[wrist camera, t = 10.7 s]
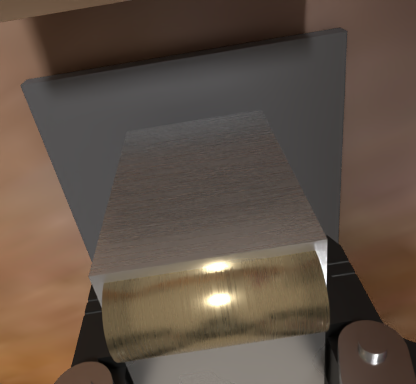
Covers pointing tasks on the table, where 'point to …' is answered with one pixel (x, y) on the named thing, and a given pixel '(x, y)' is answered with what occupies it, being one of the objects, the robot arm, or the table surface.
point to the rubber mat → (198, 114)
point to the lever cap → (212, 259)
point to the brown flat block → (44, 7)
